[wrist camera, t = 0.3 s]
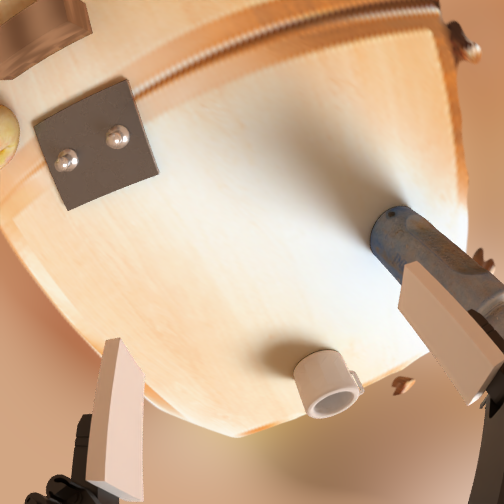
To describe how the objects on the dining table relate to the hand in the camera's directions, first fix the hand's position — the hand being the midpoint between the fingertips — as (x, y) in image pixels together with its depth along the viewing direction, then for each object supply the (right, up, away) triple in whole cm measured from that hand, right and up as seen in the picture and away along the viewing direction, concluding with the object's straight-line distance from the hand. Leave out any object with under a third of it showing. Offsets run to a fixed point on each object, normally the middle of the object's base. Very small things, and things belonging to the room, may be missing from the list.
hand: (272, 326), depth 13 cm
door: (-25, +28, +10) cm, 39 cm away
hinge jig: (-20, +16, +19) cm, 31 cm away
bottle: (+22, +6, +33) cm, 40 cm away
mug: (+14, -20, +47) cm, 53 cm away
